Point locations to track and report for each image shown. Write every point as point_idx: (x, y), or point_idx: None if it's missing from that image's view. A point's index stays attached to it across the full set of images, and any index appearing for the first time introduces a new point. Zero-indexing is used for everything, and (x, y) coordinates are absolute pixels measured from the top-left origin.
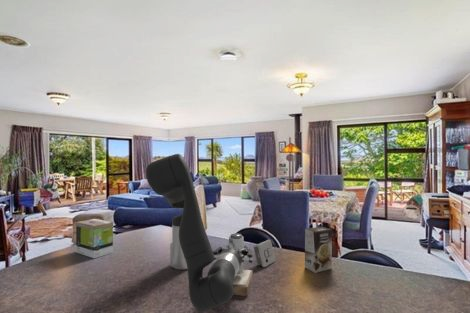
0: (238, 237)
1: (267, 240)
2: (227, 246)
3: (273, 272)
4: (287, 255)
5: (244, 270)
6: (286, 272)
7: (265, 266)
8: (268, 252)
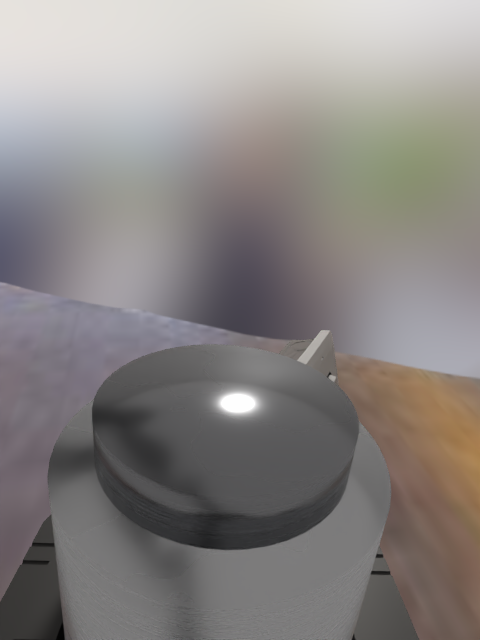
0: (317, 498)
1: (321, 335)
2: (42, 588)
3: (386, 523)
4: (362, 381)
5: None
6: (448, 514)
7: None
8: None
